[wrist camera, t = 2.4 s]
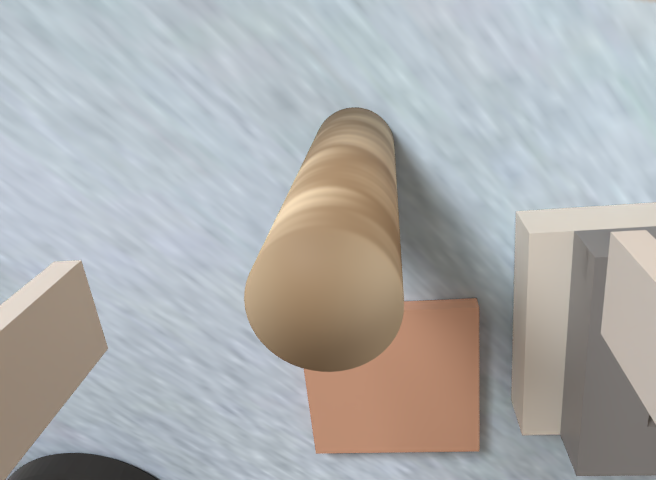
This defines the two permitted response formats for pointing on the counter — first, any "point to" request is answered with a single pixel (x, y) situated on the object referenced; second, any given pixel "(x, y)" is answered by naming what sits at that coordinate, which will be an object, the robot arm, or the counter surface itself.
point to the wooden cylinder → (333, 252)
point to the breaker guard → (575, 340)
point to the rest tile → (406, 388)
